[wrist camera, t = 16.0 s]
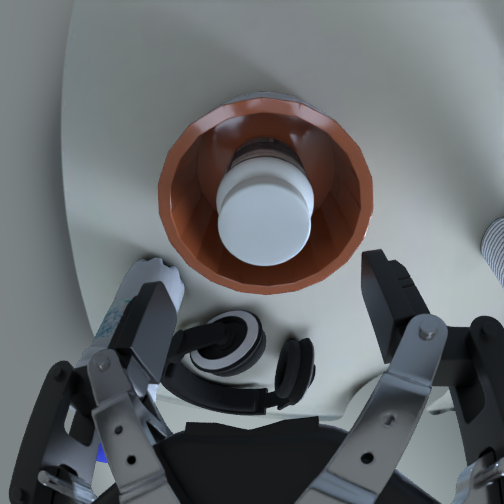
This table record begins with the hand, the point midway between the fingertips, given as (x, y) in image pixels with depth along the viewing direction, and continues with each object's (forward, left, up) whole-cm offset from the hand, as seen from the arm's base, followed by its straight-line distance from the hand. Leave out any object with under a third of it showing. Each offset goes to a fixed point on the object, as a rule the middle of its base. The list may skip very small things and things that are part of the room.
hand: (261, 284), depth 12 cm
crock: (0, 0, -14) cm, 14 cm away
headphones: (-8, -23, -15) cm, 28 cm away
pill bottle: (0, 0, -14) cm, 14 cm away
